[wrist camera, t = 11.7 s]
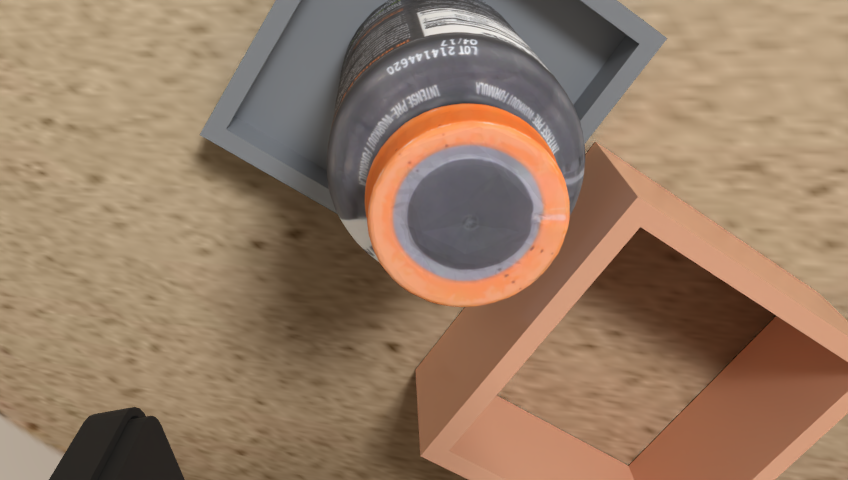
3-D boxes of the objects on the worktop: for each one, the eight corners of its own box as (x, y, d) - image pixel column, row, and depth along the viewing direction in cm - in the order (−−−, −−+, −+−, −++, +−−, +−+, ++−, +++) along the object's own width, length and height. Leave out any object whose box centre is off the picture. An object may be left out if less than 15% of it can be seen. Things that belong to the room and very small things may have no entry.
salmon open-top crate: (819, 293, 30) (896, 368, 25) (630, 482, 34) (667, 577, 29) (595, 141, 27) (638, 196, 22) (415, 369, 30) (420, 456, 26)
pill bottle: (392, 193, 26) (397, 394, 16) (308, 37, 24) (251, 159, 14) (552, 119, 26) (662, 282, 15) (480, -51, 23) (556, 10, 13)
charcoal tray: (647, 26, 25) (667, 38, 23) (464, 263, 28) (470, 289, 27) (378, -176, 22) (377, -180, 20) (213, 116, 26) (199, 134, 24)
